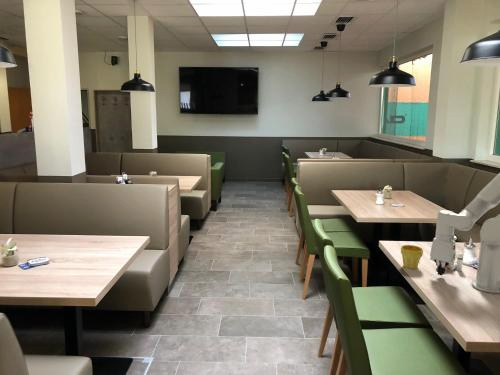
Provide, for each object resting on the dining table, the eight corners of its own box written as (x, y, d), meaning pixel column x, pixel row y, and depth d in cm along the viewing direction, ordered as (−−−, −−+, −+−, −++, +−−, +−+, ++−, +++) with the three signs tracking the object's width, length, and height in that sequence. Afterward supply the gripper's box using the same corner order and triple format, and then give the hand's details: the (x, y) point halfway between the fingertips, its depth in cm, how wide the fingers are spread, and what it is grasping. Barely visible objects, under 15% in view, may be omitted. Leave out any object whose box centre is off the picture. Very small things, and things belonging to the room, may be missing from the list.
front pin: (454, 270, 200) (460, 266, 206) (453, 265, 200) (460, 261, 205) (448, 269, 202) (455, 265, 207) (448, 265, 202) (455, 260, 207)
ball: (446, 255, 204) (447, 256, 199) (450, 267, 203) (450, 268, 198) (434, 257, 206) (434, 258, 201) (437, 269, 205) (437, 270, 200)
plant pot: (423, 271, 199) (425, 252, 198) (401, 269, 201) (402, 250, 200) (419, 263, 209) (420, 245, 208) (398, 262, 211) (399, 244, 210)
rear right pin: (462, 270, 201) (464, 253, 200) (460, 271, 199) (462, 254, 198) (457, 268, 203) (459, 252, 201) (455, 270, 201) (457, 253, 200)
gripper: (464, 239, 185) (460, 276, 189) (431, 232, 196) (428, 268, 199) (458, 242, 180) (454, 281, 184) (424, 235, 191) (421, 271, 194)
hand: (440, 274), depth 192 cm, fingers closed
